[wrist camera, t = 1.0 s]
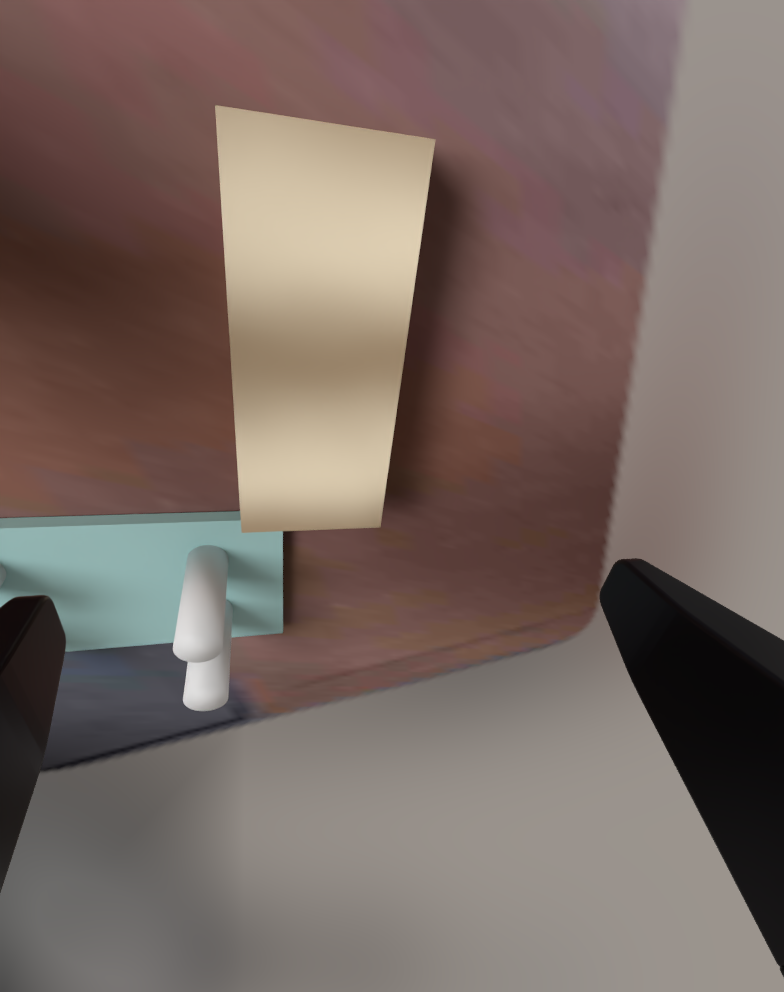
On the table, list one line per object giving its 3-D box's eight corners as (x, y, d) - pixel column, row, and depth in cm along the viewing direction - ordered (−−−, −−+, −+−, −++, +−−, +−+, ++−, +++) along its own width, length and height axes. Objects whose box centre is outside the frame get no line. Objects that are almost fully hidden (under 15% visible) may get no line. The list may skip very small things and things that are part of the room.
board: (366, 482, 21) (380, 527, 19) (243, 484, 20) (241, 532, 18) (406, 135, 14) (435, 139, 12) (222, 107, 13) (215, 105, 11)
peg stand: (-55, 650, 21) (-126, 770, 17) (-134, 522, 17) (-248, 639, 13) (282, 623, 25) (287, 718, 21) (282, 509, 21) (287, 601, 17)
